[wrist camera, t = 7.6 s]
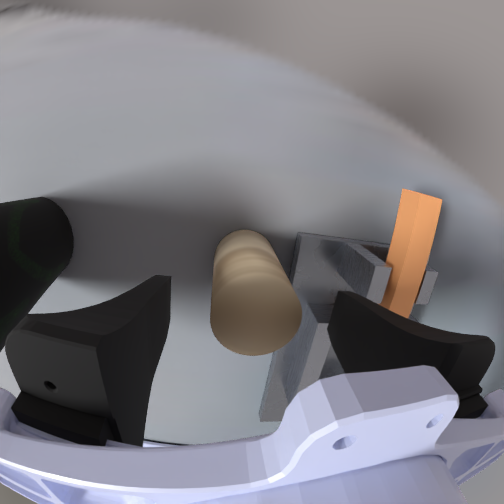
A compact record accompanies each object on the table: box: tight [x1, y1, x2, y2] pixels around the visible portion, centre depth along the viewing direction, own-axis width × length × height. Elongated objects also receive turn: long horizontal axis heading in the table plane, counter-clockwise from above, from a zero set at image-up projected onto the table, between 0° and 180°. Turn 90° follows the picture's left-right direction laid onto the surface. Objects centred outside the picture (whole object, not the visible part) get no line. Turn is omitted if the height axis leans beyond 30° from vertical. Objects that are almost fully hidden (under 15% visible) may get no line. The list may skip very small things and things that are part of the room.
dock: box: [259, 232, 438, 422], centre depth 18 cm, size 16×10×5 cm, turn 172°
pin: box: [379, 189, 442, 318], centre depth 14 cm, size 7×2×2 cm, turn 172°
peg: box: [210, 230, 302, 356], centre depth 14 cm, size 4×4×7 cm
